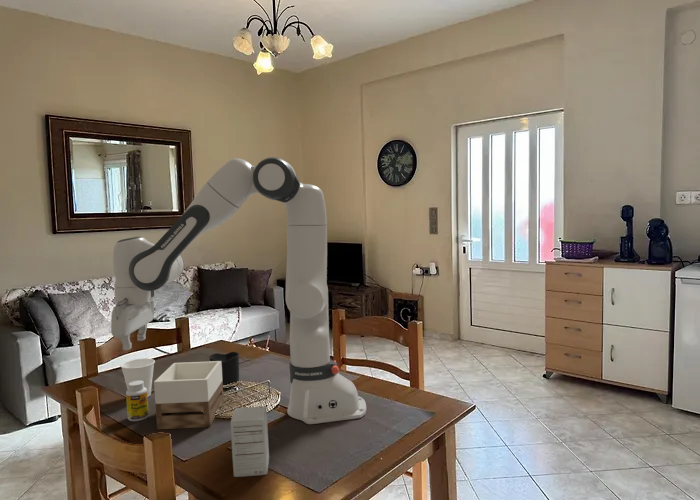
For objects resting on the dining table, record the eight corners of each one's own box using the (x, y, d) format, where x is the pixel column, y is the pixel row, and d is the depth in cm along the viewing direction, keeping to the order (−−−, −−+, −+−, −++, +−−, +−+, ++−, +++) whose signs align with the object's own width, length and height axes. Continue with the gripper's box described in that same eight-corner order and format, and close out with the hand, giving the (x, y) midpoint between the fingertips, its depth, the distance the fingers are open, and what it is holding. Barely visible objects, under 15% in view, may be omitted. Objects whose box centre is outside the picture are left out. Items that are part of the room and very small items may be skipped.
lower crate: (223, 403, 147) (222, 380, 146) (209, 426, 131) (208, 401, 130) (176, 405, 146) (175, 382, 146) (157, 429, 130) (155, 403, 130)
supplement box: (237, 460, 113) (234, 407, 112) (269, 458, 113) (267, 405, 112) (232, 478, 105) (229, 421, 104) (267, 475, 106) (264, 419, 105)
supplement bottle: (129, 424, 134) (126, 387, 134) (126, 417, 139) (123, 382, 138) (151, 418, 137) (148, 383, 137) (146, 412, 142) (144, 377, 141)
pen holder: (226, 391, 156) (225, 361, 155) (205, 387, 161) (203, 357, 160) (246, 382, 165) (244, 353, 164) (224, 378, 169) (223, 350, 168)
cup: (119, 405, 148) (117, 369, 147) (126, 393, 158) (124, 360, 157) (154, 401, 150) (152, 366, 149) (159, 389, 160) (157, 356, 159)
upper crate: (222, 380, 146) (221, 361, 146) (208, 401, 130) (207, 379, 130) (175, 382, 146) (174, 362, 145) (155, 403, 130) (153, 381, 129)
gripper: (127, 302, 125) (130, 355, 126) (157, 289, 145) (159, 335, 147) (102, 303, 125) (105, 356, 126) (135, 289, 145) (138, 335, 146)
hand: (134, 344), depth 137 cm, fingers open, 8 cm apart
